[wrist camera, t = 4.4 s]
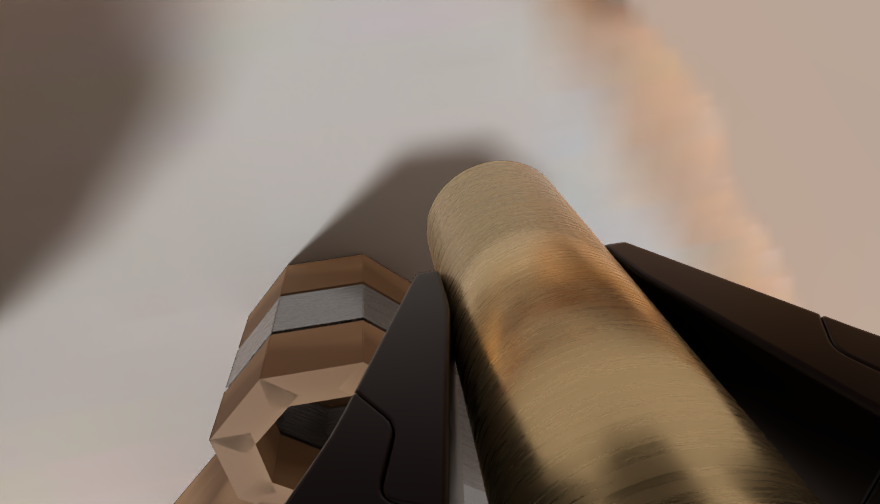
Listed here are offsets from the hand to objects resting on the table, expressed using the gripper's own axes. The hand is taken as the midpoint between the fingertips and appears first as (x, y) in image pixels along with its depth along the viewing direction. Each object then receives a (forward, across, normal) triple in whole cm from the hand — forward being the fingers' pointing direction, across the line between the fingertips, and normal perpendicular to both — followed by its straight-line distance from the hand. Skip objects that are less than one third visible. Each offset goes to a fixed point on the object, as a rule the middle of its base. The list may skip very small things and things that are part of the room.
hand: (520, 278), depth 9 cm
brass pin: (+2, 0, 0) cm, 2 cm away
